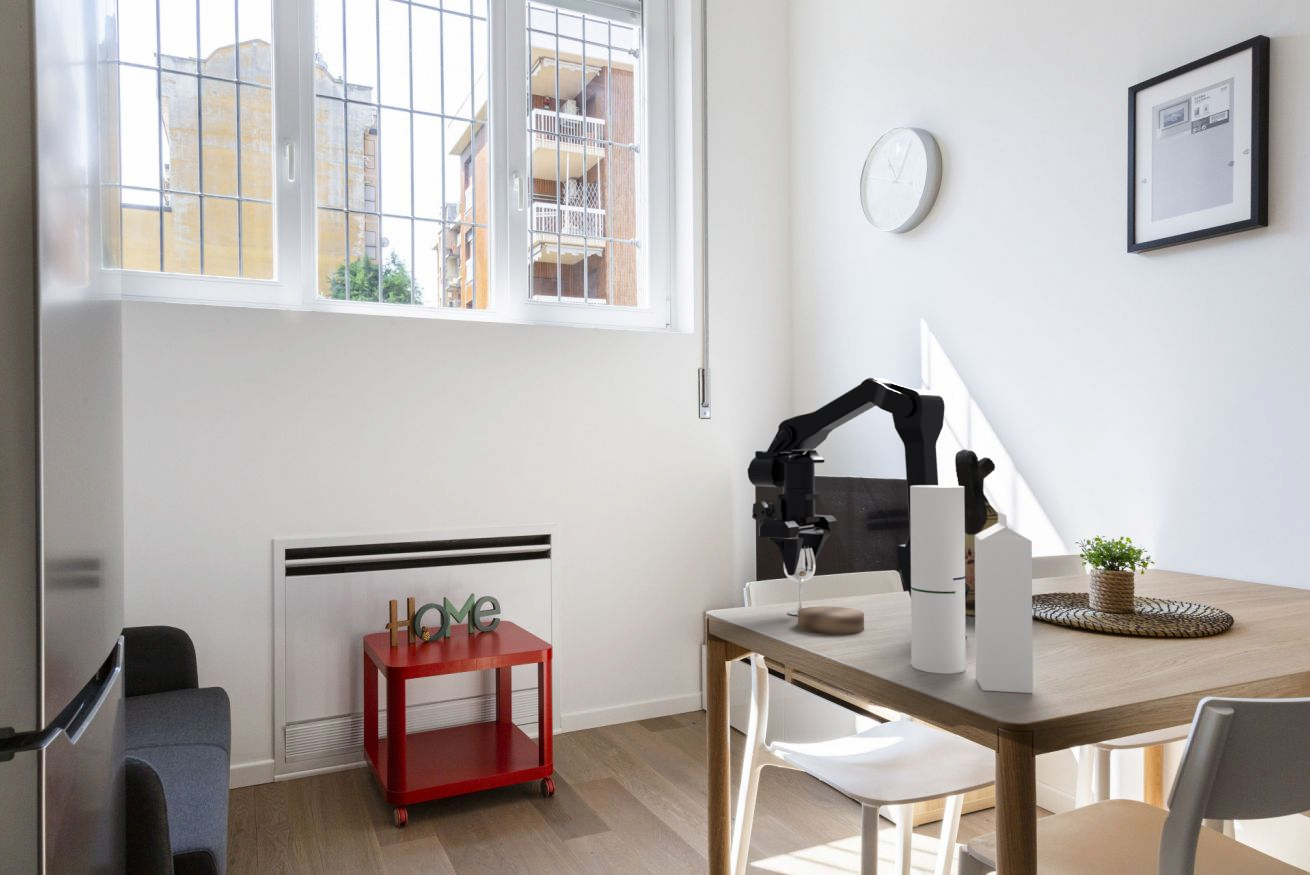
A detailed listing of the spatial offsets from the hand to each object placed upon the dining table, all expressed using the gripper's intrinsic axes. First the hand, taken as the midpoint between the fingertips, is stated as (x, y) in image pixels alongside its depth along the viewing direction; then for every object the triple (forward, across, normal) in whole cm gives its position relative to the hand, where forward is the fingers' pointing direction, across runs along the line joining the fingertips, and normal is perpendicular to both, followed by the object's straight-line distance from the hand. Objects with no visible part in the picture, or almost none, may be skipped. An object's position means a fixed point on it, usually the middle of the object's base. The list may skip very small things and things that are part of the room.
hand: (799, 573), depth 156 cm
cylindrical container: (+8, +21, +34) cm, 41 cm away
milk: (+8, +25, +44) cm, 51 cm away
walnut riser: (+7, +7, +10) cm, 14 cm away
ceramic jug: (+8, -21, +25) cm, 33 cm away
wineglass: (+7, 0, 0) cm, 7 cm away
